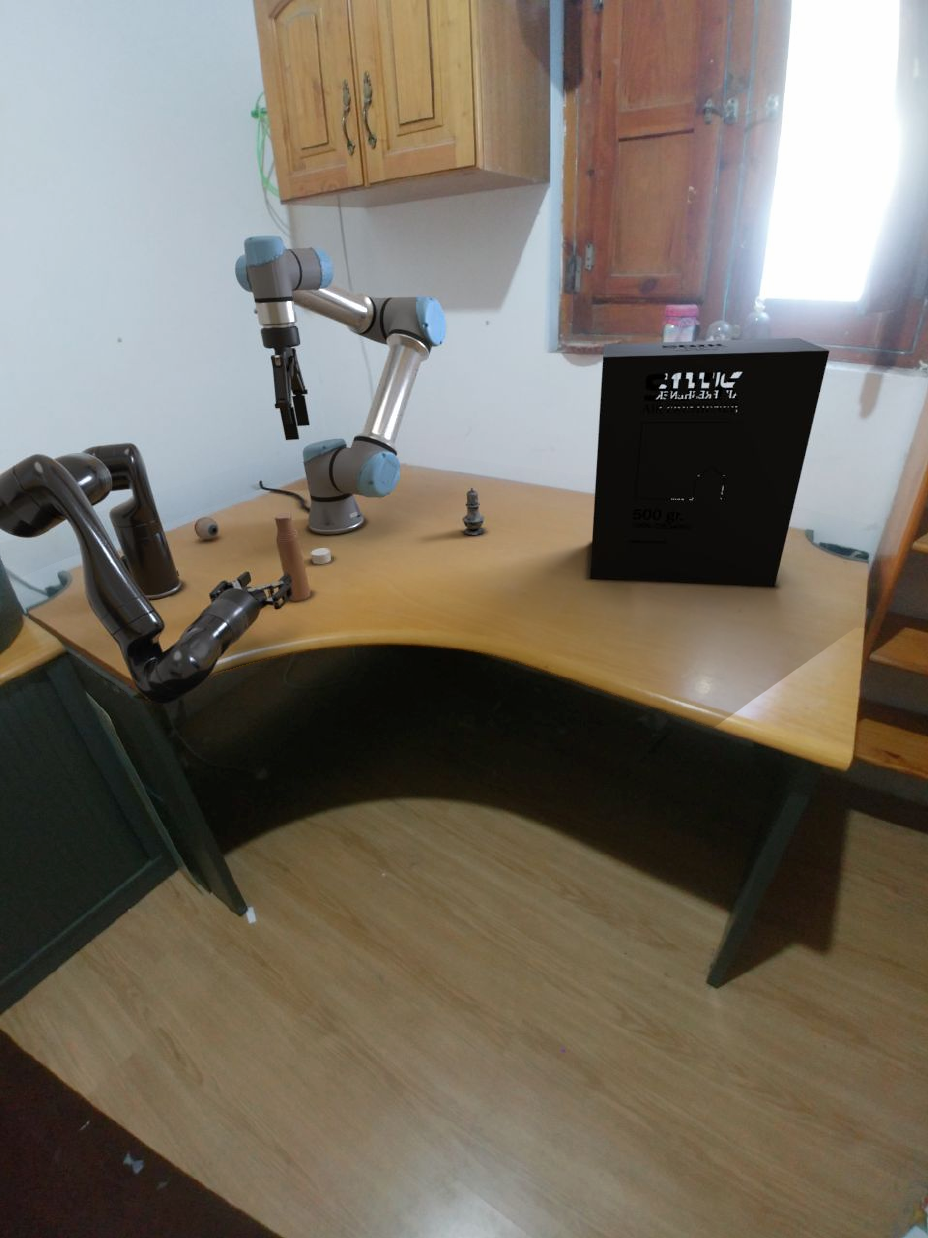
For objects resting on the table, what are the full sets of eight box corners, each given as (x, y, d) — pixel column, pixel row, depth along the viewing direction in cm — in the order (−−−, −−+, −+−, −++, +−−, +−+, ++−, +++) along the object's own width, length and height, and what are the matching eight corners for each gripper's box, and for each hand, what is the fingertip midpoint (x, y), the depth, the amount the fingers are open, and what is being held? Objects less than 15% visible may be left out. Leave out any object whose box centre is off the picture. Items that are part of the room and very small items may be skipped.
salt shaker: (482, 535, 157) (481, 491, 151) (460, 535, 158) (458, 490, 152) (486, 527, 162) (485, 483, 156) (465, 526, 163) (463, 483, 157)
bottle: (305, 601, 130) (288, 520, 121) (284, 600, 131) (266, 519, 122) (314, 591, 134) (298, 511, 125) (294, 590, 135) (277, 511, 126)
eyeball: (208, 544, 161) (202, 523, 158) (193, 540, 164) (187, 519, 161) (226, 536, 166) (220, 516, 163) (211, 533, 169) (205, 512, 166)
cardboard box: (755, 547, 142) (798, 337, 120) (774, 586, 125) (829, 350, 102) (592, 542, 150) (603, 344, 127) (589, 578, 133) (603, 356, 110)
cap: (333, 556, 150) (332, 548, 149) (327, 564, 147) (325, 555, 145) (316, 556, 151) (315, 547, 150) (309, 564, 147) (308, 555, 146)
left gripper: (260, 601, 102) (298, 560, 116) (184, 598, 104) (230, 558, 118) (269, 638, 106) (305, 594, 120) (196, 634, 108) (239, 591, 122)
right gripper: (273, 322, 133) (291, 421, 144) (244, 332, 112) (268, 447, 122) (307, 320, 134) (323, 419, 144) (285, 329, 112) (305, 444, 123)
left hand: (268, 576), depth 119 cm, fingers open, 8 cm apart
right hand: (298, 432), depth 133 cm, fingers open, 13 cm apart
